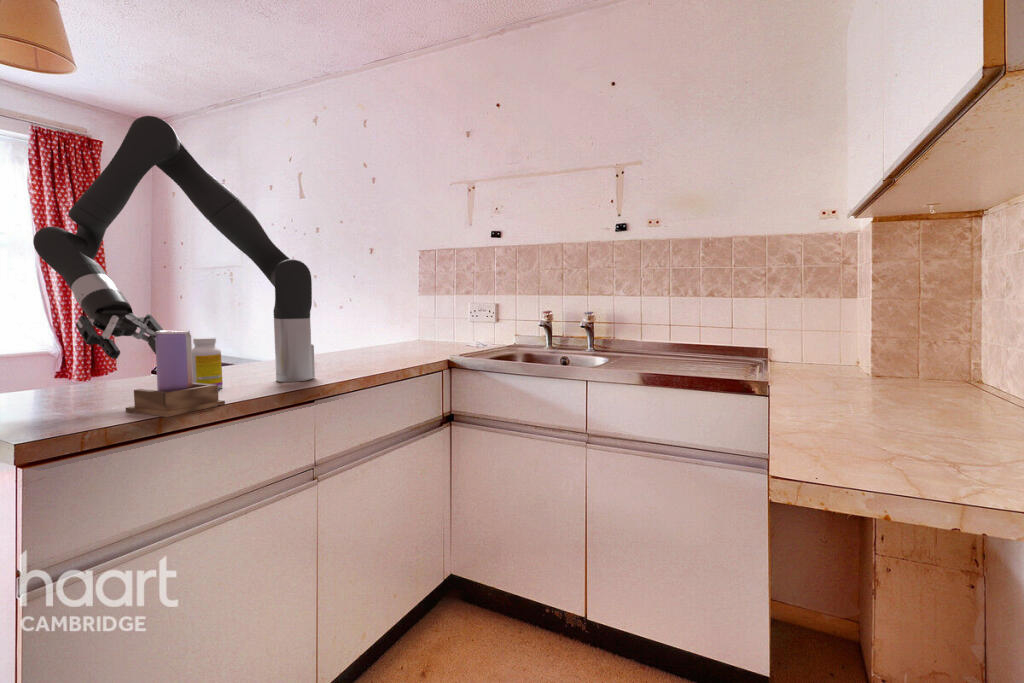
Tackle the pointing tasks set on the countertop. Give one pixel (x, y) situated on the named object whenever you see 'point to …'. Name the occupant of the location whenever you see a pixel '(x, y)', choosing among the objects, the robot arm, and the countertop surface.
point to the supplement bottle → (206, 362)
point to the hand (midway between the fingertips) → (139, 354)
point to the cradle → (175, 400)
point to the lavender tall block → (173, 360)
